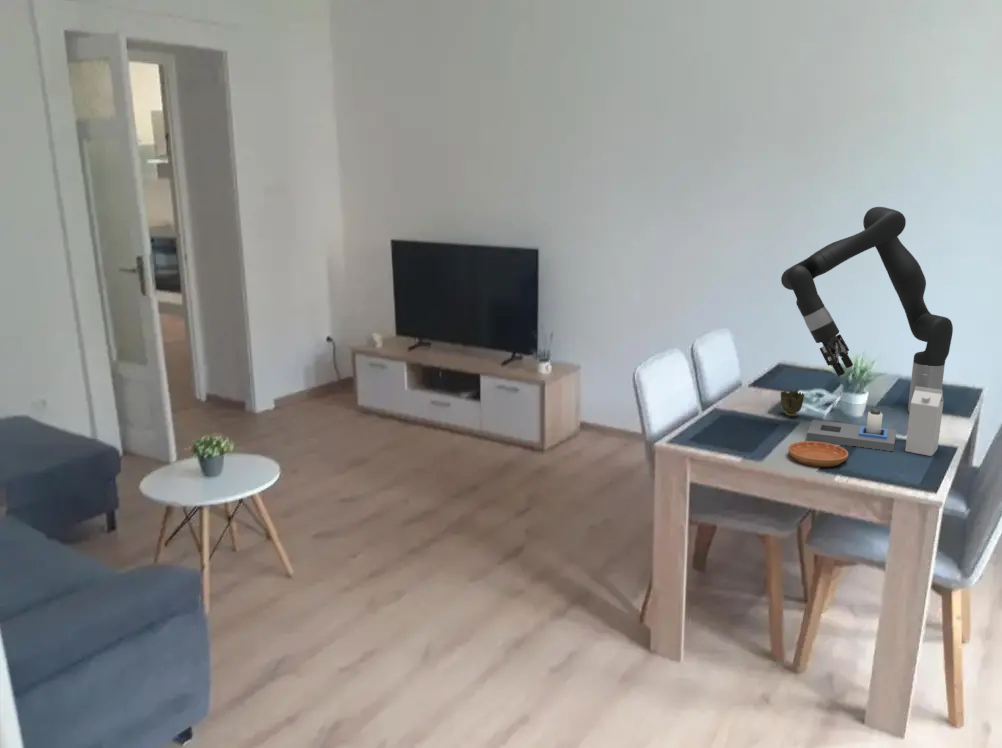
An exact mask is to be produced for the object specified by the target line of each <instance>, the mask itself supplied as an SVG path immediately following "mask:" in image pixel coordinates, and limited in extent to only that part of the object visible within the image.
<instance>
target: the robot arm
mask: <svg viewBox="0 0 1002 748" xmlns="http://www.w3.org/2000/svg"><path fill="white" fill-rule="evenodd" d="M906 221H907V219H906V217H905V215H904V214H903V213H902V212H900V211H898V210H896V209H892V208H889V207H884V206H875V207H874V206H873V207H872V208H870V209H869V210H868V209H867V211H866V213H865V215H864V217H863V219H862V222H863V229H864V230H862V231H860V232H858V233H855V234H853V235H851V236H848V237H845V238H842V239H839V240H837V241H833V242H831V243H829V244H827V245H826V246H823V247H822V248H820V249H819V250H817V251H815V252H814V253H813V254H811V255H810V256H809V257H807V258H805V259H804V260H801V261H800V262H798V263H796V264H794V265H792V266H791V267H788V268H787V269H785V271H783V273H782V275H781V277H780V279H781V280H780V281H781V285H782V286H783V287H784V288H785V289H787V290H789V291H793V293H794V296H795V298H796V302H795V303H796V307H797V309H798V310H799V313H800V314H801V316H802V318H803V320H804V322H805V325H806V328H807V329H808V331H809V332H810V334H811V337H812V338H813V339H814V341H815V343H816V344H819V343H822V347H820V348H819V350H820V353H821V355H822V357H823V358H824V361H825V363H826V365H828V367H829V366H830V367H832V368H833V370H834V372H835V374H836V375H837V377H840V376H843V375H845V374H846V371H845V370H844V367H845V368H846V369H849V368H852V366H853V365H854V363H853V361H852V359H851V358H850V356H849V351H850V349H849V347H848V345H847V343H846V341H845V340H844V338H843V336H842V335H841V334H839V333H840V330H839V328H838V326H837V324H836V323H835V321H834V319H833V317H832V315H831V313H830V312H829V309H827V307H826V306H825V304H824V302H823V301H822V300H823V299H821V297H820V295H819V293H818V290H817V287H816V284H815V280H814V279H815V278H817V277H819V276H821V275H823V274H826V273H827V272H830V271H831V270H833V269H834V268H836V267H838V266H839V265H841V264H843V263H845V262H846V261H848V260H850V259H852V258H853V257H855V256H857V255H859V254H861V253H864V252H866V251H867V250H870V249H872V248H876V251H877V252H878V255H879V256H880V259H881V261H882V264H883V266H884V268H885V270H886V272H887V275H888V277H889V279H890V282H891V284H892V286H893V289H894V290H895V292H896V294H897V296H898V298H899V301H900V303H901V305H902V308H903V310H904V313H905V317H906V319H907V322H908V325H909V329H910V332H911V334H912V335H913V337H914V338H915V339H917V340H918V341H921V342H924V343H926V345H925V349H924V350H923V351H918V352H916V353H914V355H913V363H912V371H911V377H910V385H909V386H910V388H909V398H908V405H907V412H908V413H909V414H910V406H911V400H912V397H913V394H914V391H915V386H917V387H924V388H931V389H938V390H943V388H942V387H943V382H944V374H945V373H944V372H945V366H946V360H947V358H948V356H949V354H950V351H951V350H950V349H951V343H952V339H953V332H954V325H953V323H952V321H951V319H950V318H948V317H946V316H942V315H937V314H932V313H931V311H929V309H928V307H927V304H926V302H925V299H924V295H925V291H926V287H927V281H926V277H925V274H924V271H923V270H922V268H921V267H922V266H920V264H919V262H918V260H917V259H916V258H915V256H914V255H913V254H912V253H911V252H910V250H908V248H907V247H906V246H904V244H903V243H902V241H901V240H900V239H899V237H898V236H900V235H901V234H902V233H903V231H904V230H905V227H906V223H907V222H906ZM839 358H840V359H841V361H842V363H843V365H844V367H843V366H842V363H841V362H840V359H839Z"/></svg>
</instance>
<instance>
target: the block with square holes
mask: <svg viewBox="0 0 1002 748" xmlns="http://www.w3.org/2000/svg"><path fill="white" fill-rule="evenodd" d="M866 427H867V425H861V424H860V425H859V424H853V423H851V424H850V423H845V422H844V423H843V422H834V421H827V420H818V419H812V421H811V423H810V425H809V428H808V430H807V431H806V437H805V438H806V441H816V442H825V443H830V444H834V445H837V446H846V445H847V447H852V446H856V447H855V448H860V447H864V448H863V449H867V448H872V449H871V450H875V449H878V450H877V451H882V450H886V451H885V452H890V451H895V443H896V439H897V438H896V437H897V429H893V428H891V429H890V428H886V427H885V428H884V427H881V434H880V435H876V434H868V433H866ZM857 446H858V447H857ZM879 449H880V450H879Z"/></svg>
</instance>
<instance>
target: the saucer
mask: <svg viewBox="0 0 1002 748" xmlns="http://www.w3.org/2000/svg"><path fill="white" fill-rule="evenodd" d="M787 449H788V454H789V455H790V456H791V457H792V458H793V459H794V460H795V461H797V462H798V463H801V464H803V465H807V466H812V467H818V466H819V467H820V468H830V467H836V466H839V465H841V464H842V463H844V462H845V461H846V460H847V459H848V457H849V452H848V450H847V449H845V448H844V447H842V446H841V445H837V444H830V443H825V442H816V441H807V440H806V441H799V442H794V443H791V444H790V445H789V446H788V447H787ZM819 467H818V468H819Z"/></svg>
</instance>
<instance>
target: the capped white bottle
mask: <svg viewBox="0 0 1002 748" xmlns="http://www.w3.org/2000/svg"><path fill="white" fill-rule="evenodd" d="M883 414H884V413H882V412H881V409H878V408H871V409H870V411H868V413H867V420H866V426H867V427H866V433H868V434H876V435H880V434H881V428H882V422H883V416H884V415H883Z"/></svg>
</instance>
